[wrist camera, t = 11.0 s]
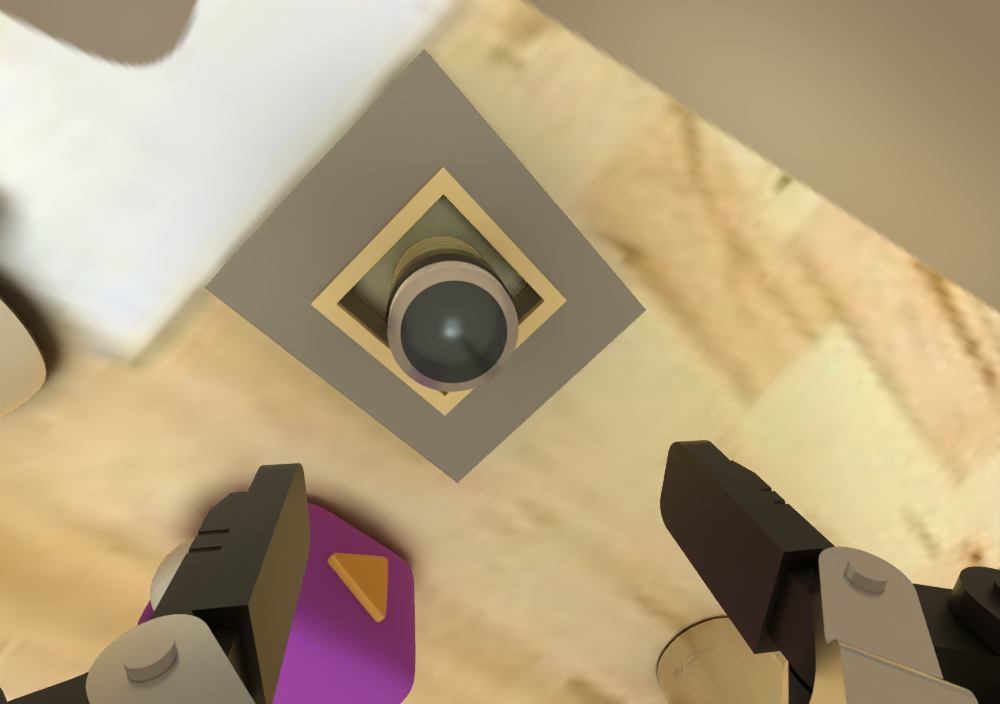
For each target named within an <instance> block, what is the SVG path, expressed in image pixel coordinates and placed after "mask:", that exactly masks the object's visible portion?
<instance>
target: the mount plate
mask: <svg viewBox="0 0 1000 704" xmlns="http://www.w3.org/2000/svg"><path fill="white" fill-rule="evenodd" d="M443 194H444V195H445V196H446V197H447V198H448V199H449V200H450V202H451V203H452V204H453V205H454V206H455V207H456V208H457V209H458V210H459V211H460V212H461V213H462V214H463V215H464V216H465V217H466V218H467V219H468V220H469V222H470V223H471V224H472V225H473V226H474V227H475V228H476V229H477V230H478V231H479V232H480V233H481V234H482V235H483V236H484V237H485V238H486V239H487V240H488V242H489V243H490V244H491V245H492V246H493V247H494V248H495V249H496V250H497V251H498V252H499V253H500V254H501V255H502V256H503V257H504V258H505V259H506V261H507V262H508V263H509V264H510V265H511V266H512V267H513V268H514V269H515V270H516V271H517V272H518V273H519V274H520V275H521V276H522V277H523V278H524V279H525V281H526V282H527V283H528V284H529V285H528V286H527V287H526V288H525V289H524V290H523V291H522V292H521V293H520V294H519V295H517V296H516V297H515V298H514V299H513V300H512V302H513V305H514V307H515V310H516V313H517V317H518V329H519V332H518V340H517V343H516V347H515V350H514V352H513V355H512V356H511V358H510V360H509V362H508V363H507V364H506V366H505V367H504V368H503V369H502V370H501V371H500V372H499V373H498V374H497V375H496V376H495V377H494V378H492V379H491V380H489V381H488V382H486V383H484V384H482V385H480V386H478V387H475V388H473V389H469V390H465V391H457V392H445V391H438V390H434V389H430V388H428V387H425V386H423V385H421V384H419V383H417V382H415V381H414V380H413V379H411V378H410V377H409V376H408V375H407V374H406V373H405V372H403V371H402V369H401V368H400V367H399V365H398V364H397V362H396V361H395V359H394V357H393V355H392V352H391V350H390V346H389V343H388V335H387V327H386V322H385V321H384V320H383V319H382V318H381V317H380V316H378V315H377V314H376V313H375V312H374V311H373V310H372V309H370V308H369V307H368V306H367V305H366V304H365V303H364V302H362V301H361V300H360V299H359V298H358V297H357V296H356V295H354V294H353V293H352V292H351V291H350V289H351V288H352V287H353V286H354V285H355V284H356V283H357V282H358V281H359V280H360V279H361V278H362V277H363V276H364V275H365V274H366V273H367V272H368V271H369V270H370V269H371V268H372V267H373V266H374V265H375V264H376V263H377V262H378V261H379V260H380V259H381V258H382V257H383V256H384V254H385V253H386V252H387V251H388V250H389V249H390V248H391V247H392V246H393V245H394V244H395V243H396V242H397V241H398V240H399V239H400V238H401V237H402V236H403V235H404V234H405V233H406V232H407V231H408V230H409V229H410V228H411V227H412V226H413V225H414V224H415V223H416V222H417V221H418V220H419V219H420V218H421V217H422V216H423V214H424V213H425V212H426V211H427V210H428V209H429V208H430V207H431V206H432V205H433V204H434V203H435V202H436V201H437V200H438V199H439V198H440V197H441V196H442V195H443ZM205 288H206V289H207V290H208V291H210V292H211V293H212V294H214V295H215V296H216V297H218V298H219V299H220V300H221V301H223V302H224V303H225V304H227V305H228V306H229V307H230V308H232V309H233V310H234V311H236V312H237V313H238V314H240V315H241V316H242V317H243V318H245V319H246V320H247V321H249V322H250V323H251V324H252V325H254V326H255V327H256V328H258V329H259V330H260V331H262V332H263V333H264V334H265V335H267V336H268V337H269V338H271V339H272V340H273V341H275V342H276V343H277V344H278V345H280V346H281V347H282V348H284V349H285V350H286V351H287V352H289V353H290V354H291V355H293V356H294V357H295V358H297V359H298V360H299V361H300V362H302V363H303V364H304V365H306V366H307V367H308V368H309V369H311V370H312V371H313V372H315V373H316V374H317V375H319V376H320V377H321V378H322V379H324V380H325V381H326V382H328V383H329V384H330V385H331V386H333V387H334V388H335V389H337V390H338V391H339V392H341V393H342V394H343V395H344V396H346V397H347V398H348V399H350V400H351V401H352V402H354V403H355V404H356V405H357V406H359V407H360V408H361V409H363V410H364V411H365V412H366V413H368V414H369V415H370V416H372V417H373V418H374V419H376V420H377V421H378V422H379V423H381V424H382V425H383V426H385V427H386V428H387V429H388V430H390V431H391V432H392V433H394V434H395V435H396V436H398V437H399V438H400V439H401V440H403V441H404V442H405V443H407V444H408V445H409V446H410V447H412V448H413V449H414V450H416V451H417V452H418V453H420V454H421V455H422V456H423V457H425V458H426V459H427V460H429V461H430V462H431V463H432V464H434V465H435V466H436V467H438V468H439V469H440V470H442V471H443V472H444V473H445V474H447V475H448V476H449V477H451V478H452V479H453V480H455V481H456V482H457V483H458V482H459V481H460V480H461V479H462V478H463V477H464V476H465V475H466V474H468V473H469V472H470V471H471V470H472V469H473V468H474V467H475V466H476V465H477V464H478V463H480V462H481V461H482V460H483V459H484V458H485V457H486V456H487V455H488V454H489V453H490V452H492V451H493V450H494V449H495V448H496V447H497V446H498V445H499V444H500V443H501V442H502V441H504V440H505V439H506V438H507V437H508V436H509V435H510V434H511V433H512V432H513V431H514V430H516V429H517V428H518V427H519V426H520V425H521V424H522V423H523V422H524V421H525V420H526V419H528V418H529V417H530V416H531V415H532V414H533V413H534V412H535V411H536V410H537V409H538V408H540V407H541V406H542V405H543V404H544V403H545V402H546V401H547V400H548V399H549V398H550V397H552V396H553V395H554V394H555V393H556V392H557V391H558V390H559V389H560V388H561V387H562V386H564V385H565V384H566V383H567V382H568V381H569V380H570V379H571V378H572V377H573V376H575V375H576V374H577V373H578V372H579V371H580V370H581V369H582V368H583V367H584V366H585V365H587V364H588V363H589V362H590V361H591V360H592V359H593V358H594V357H595V356H596V355H597V354H599V353H600V352H601V351H602V350H603V349H604V348H605V347H606V346H607V345H608V344H609V343H611V342H612V341H613V340H614V339H615V338H616V337H617V336H618V335H619V334H620V333H621V332H623V331H624V330H625V329H626V328H627V327H628V326H629V325H630V324H631V323H632V322H633V321H635V320H636V319H637V318H638V317H639V316H640V315H641V314H642V313H643V312H644V311H645V310H646V309H645V308H644V307H643V306H642V305H641V303H640V302H639V301H638V300H637V299H636V298H635V296H634V295H633V294H632V293H631V292H630V290H629V289H628V288H627V287H626V286H625V285H624V283H623V282H622V281H621V280H620V279H619V277H618V276H617V275H616V274H615V273H614V272H613V270H612V269H611V268H610V267H609V266H608V265H607V263H606V262H605V261H604V260H603V259H602V257H601V256H600V255H599V254H598V253H597V252H596V250H595V249H594V248H593V247H592V246H591V245H590V243H589V242H588V241H587V240H586V239H585V237H584V236H583V235H582V234H581V233H580V232H579V230H578V229H577V228H576V227H575V226H574V225H573V223H572V222H571V221H570V220H569V219H568V217H567V216H566V215H565V214H564V213H563V212H562V210H561V209H560V208H559V207H558V206H557V204H556V203H555V202H554V201H553V200H552V199H551V197H550V196H549V195H548V194H547V193H546V192H545V190H544V189H543V188H542V187H541V186H540V184H539V183H538V182H537V181H536V180H535V179H534V177H533V176H532V175H531V174H530V173H529V172H528V170H527V169H526V168H525V167H524V166H523V164H522V163H521V162H520V161H519V160H518V159H517V157H516V156H515V155H514V154H513V153H512V152H511V150H510V149H509V148H508V147H507V146H506V144H505V143H504V142H503V141H502V140H501V139H500V137H499V136H498V135H497V134H496V133H495V131H494V130H493V129H492V128H491V127H490V126H489V124H488V123H487V122H486V121H485V120H484V119H483V117H482V116H481V115H480V114H479V113H478V111H477V110H476V109H475V108H474V107H473V106H472V104H471V103H470V102H469V101H468V100H467V99H466V97H465V96H464V95H463V94H462V93H461V91H460V90H459V89H458V88H457V87H456V86H455V84H454V83H453V82H452V81H451V80H450V78H449V77H448V76H447V75H446V74H445V73H444V71H443V70H442V69H441V68H440V67H439V66H438V64H437V63H436V62H435V61H434V60H433V58H432V57H431V56H430V55H429V54H428V53H427V51H426V50H425V49H424V50H423V51H422V52H421V53H420V54H419V55H418V56H417V57H416V58H415V59H414V61H413V62H412V63H411V64H410V65H409V66H408V67H407V68H406V69H405V70H404V71H403V72H402V74H401V75H400V76H399V77H398V78H397V79H396V80H395V81H394V82H393V83H392V84H391V86H390V87H389V88H388V89H387V90H386V91H385V92H384V93H383V94H382V95H381V96H380V97H379V99H378V100H377V101H376V102H375V103H374V104H373V105H372V106H371V107H370V108H369V109H368V110H367V112H366V113H365V114H364V115H363V116H362V117H361V118H360V119H359V120H358V121H357V122H356V124H355V125H354V126H353V127H352V128H351V129H350V130H349V131H348V132H347V133H346V134H345V135H344V137H343V138H342V139H341V140H340V141H339V142H338V143H337V144H336V145H335V146H334V147H333V148H332V150H331V151H330V152H329V153H328V154H327V155H326V156H325V157H324V158H323V159H322V160H321V162H320V163H319V164H318V165H317V166H316V167H315V168H314V169H313V170H312V171H311V172H310V173H309V175H308V176H307V177H306V178H305V179H304V180H303V181H302V182H301V183H300V184H299V185H298V186H297V188H296V189H295V190H294V191H293V192H292V193H291V194H290V195H289V196H288V197H287V198H286V200H285V201H284V202H283V203H282V204H281V205H280V206H279V207H278V208H277V209H276V210H275V211H274V213H273V214H272V215H271V216H270V217H269V218H268V219H267V220H266V221H265V222H264V223H263V225H262V226H261V227H260V228H259V229H258V230H257V231H256V232H255V233H254V234H253V235H252V236H251V238H250V239H249V240H248V241H247V242H246V243H245V244H244V245H243V246H242V247H241V248H240V249H239V251H238V252H237V253H236V254H235V255H234V256H233V257H232V258H231V259H230V260H229V261H228V263H227V264H226V265H225V266H224V267H223V268H222V269H221V270H220V271H219V272H218V273H217V274H216V276H215V277H214V278H213V279H212V280H211V281H210V282H209V283H208V284H207V285H206V286H205Z"/></svg>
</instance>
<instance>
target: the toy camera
mask: <svg viewBox="0 0 1000 704" xmlns="http://www.w3.org/2000/svg"><path fill="white" fill-rule="evenodd" d="M307 505H308V513H309V522H310V550H309V557H308V561H307V565H306V569H305V573H304V577H303V582H302V586H301V590H300V594H299V598H298V602H297V606H296V610H295V614H294V618H293V622H292V626H291V631H290V635H289V639H288V643H287V647H286V651H285V655H284V659H283V663H282V667H281V671H280V675H279V679H278V684H277V688H276V692H275V696H274V700H273V704H400V703H401V702H402V701H403V700H404V699H405V698H406V697H407V695H408V694H409V692H410V690H411V688H412V685H413V682H414V676H415V605H414V580H413V574H412V570H411V568H410V566H409V565H408V564H407V563H406V562H405V561H404V560H403V559H402V558H401V557H400V556H398V555H397V554H395V553H394V552H392V551H391V550H389V549H388V548H386V547H385V546H383V545H382V544H380V543H378V542H377V541H375V540H374V539H372V538H371V537H369V536H368V535H366V534H364V533H363V532H361V531H360V530H358V529H357V528H355V527H353V526H352V525H350V524H349V523H347V522H345V521H344V520H342V519H341V518H339V517H337V516H336V515H334V514H333V513H331V512H329V511H327V510H326V509H324V508H322V507H320V506H318V505H315V504H312V503H307ZM194 539H195V537H194V538H191V539H189V540H187V541H186V542H184V543H182V544H180V545H179V546H178V547H176V548H175V549H174V550H173V551H172V552H171V553H169V554H168V555H167V557H166V558H165V559H164V560H163V562H162V563H161V564H160V566H159V567H158V569H157V571H156V573H155V576H154V578H153V580H152V585H151V590H150V601H149V603H148V605H147V606H146V608H145V610H144V612H143V614H142V616H141V618H140V620H139V622H138V625H140V624H142V623H144V622H147V621H149V620H150V618H151V616H152V614H153V613H154V611H155V609H156V607H157V605H158V604H159V602H160V600H161V598H162V596H163V595H164V593H165V591H166V589H167V587H168V586H169V584H170V582H171V580H172V578H173V576H174V575H175V573H176V571H177V569H178V567H179V566H180V564H181V562H182V560H183V558H184V557H185V555H186V553H189V548H190V546H191V544H192V542H193V540H194ZM138 625H137V626H138Z"/></svg>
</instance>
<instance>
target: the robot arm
mask: <svg viewBox="0 0 1000 704" xmlns="http://www.w3.org/2000/svg"><path fill="white" fill-rule="evenodd" d="M660 509H661V515H662V518H663V521H664V524H665V526H666V528H667V529H668V531H669V532H670V533H671V535H672V536H673V538H674V539H675V541H676V542H677V544H678V545H679V546H680V548H681V549H682V551H683V552H684V554H685V555H686V557H687V558H688V559H689V561H690V562H691V564H692V565H693V567H694V568H695V570H696V571H697V572H698V574H699V575H700V577H701V578H702V580H703V581H704V583H705V584H706V585H707V587H708V588H709V590H710V591H711V593H712V594H713V595H714V597H715V598H716V600H717V601H718V603H719V604H720V606H721V607H722V608H723V610H724V611H725V613H726V614H727V616H728V617H729V618H719V619H713V620H709V621H706V622H703V623H700V624H698V625H696V626H694V627H692V628H690V629H688V630H687V631H685V632H684V633H682V634H681V635H680V636H678V637H677V638H676V639H675V640H674V641H673V642H672V643H671V644H670V645H669V646H668V648H667V649H666V650H665V652H664V653H663V655H662V657H661V659H660V661H659V665H658V669H657V678H658V681H659V684H660V686H661V688H662V690H663V692H664V695H665V697H666V699H667V701H668V703H669V704H1000V570H997V569H992V568H987V567H968V568H965V569H963V570H962V571H961V573H960V575H959V577H958V579H957V582H956V584H955V586H954V588H953V590H952V589H945V588H939V587H932V586H926V585H919V584H912V583H911V581H910V580H909V579H908V578H907V577H906V576H905V575H904V574H903V573H902V572H901V571H899V570H898V569H897V568H895V567H894V566H893V565H891V564H889V563H888V562H886V561H885V560H883V559H881V558H879V557H877V556H874V555H872V554H870V553H867V552H864V551H861V550H858V549H854V548H848V547H835V546H834V545H833V544H832V543H831V542H829V541H828V540H827V539H826V538H825V537H824V536H823V535H822V534H821V533H820V532H819V531H817V530H816V529H815V528H814V527H813V526H812V525H811V524H810V523H809V522H808V521H807V520H805V519H804V518H803V517H802V516H801V515H800V514H799V513H798V512H797V511H796V510H795V509H793V508H792V507H791V506H790V505H789V504H785V500H784V499H783V498H781V497H780V496H779V495H778V494H777V493H776V492H775V491H772V490H771V487H770V486H768V485H767V484H766V483H765V482H764V481H763V480H762V479H761V478H760V477H759V476H758V475H756V474H755V473H754V472H752V471H750V470H749V469H747V468H745V467H743V466H741V465H739V464H738V463H736V462H734V461H730V460H729V459H728V458H727V457H726V456H725V455H724V454H723V453H722V452H721V451H720V450H718V449H717V448H716V447H715V446H714V445H713V444H712V443H711V442H710V441H707V440H700V441H683V442H674V443H673V444H672V445H671V446H670V449H669V452H668V458H667V464H666V469H665V475H664V481H663V487H662V492H661V498H660ZM309 550H310V522H309V513H308V505H307V496H306V487H305V479H304V471H303V467H302V465H301V464H300V463H296V464H279V465H263V466H260V468H259V469H258V471H257V473H256V475H255V478H254V480H253V482H252V484H251V486H250V488H249V490H248V492H240V493H230V494H229V495H228V496H227V497H226V498H225V499H223V500H222V501H221V502H220V503H219V504H217V505H216V506H215V507H214V508H213V509H212V510H210V511H209V513H208V515H207V517H206V519H205V520H204V522H203V524H202V526H201V528H200V530H199V531H198V536H196V537H195V539H194V540H193V542H192V544H191V546H190V548H189V553H186V555H185V557H184V558H183V560H182V562H181V564H180V566H179V567H178V569H177V571H176V573H175V575H174V576H173V578H172V580H171V582H170V584H169V586H168V587H167V589H166V591H165V593H164V595H163V596H162V598H161V600H160V602H159V604H158V605H157V607H156V609H155V611H154V613H153V614H152V616H151V618H150V620H149V621H147V622H144V623H142V624H140V625H138V626H136V627H134V628H132V629H131V630H129V631H127V632H126V633H124V634H123V635H121V636H120V637H118V638H117V639H116V640H115V641H114V642H112V643H111V644H110V645H109V646H108V647H107V648H106V649H105V650H104V651H103V652H102V653H101V654H100V655H99V657H98V658H97V659H96V661H95V662H94V664H93V665H92V667H91V669H90V671H89V672H87V673H85V674H83V675H80V676H78V677H75V678H73V679H70V680H67V681H65V682H62V683H59V684H56V685H53V686H51V687H48V688H45V689H42V690H39V691H36V692H34V693H31V694H28V695H25V696H22V697H19V698H17V699H14V700H11V701H8V702H7V700H6V698H5V695H4V693H3V691H2V689H1V688H0V704H273V700H274V696H275V692H276V688H277V684H278V679H279V675H280V671H281V667H282V663H283V659H284V655H285V651H286V647H287V643H288V639H289V635H290V631H291V626H292V622H293V618H294V614H295V610H296V606H297V602H298V598H299V594H300V590H301V586H302V582H303V577H304V573H305V569H306V565H307V561H308V557H309ZM775 651H781V653H782V654H783V655H784V657H785V658H786V661H785V664H784V667H783V665H782V664H781V662H780V661H779V660H778V658H777V657H776V656H775V654H774V653H773V652H775Z"/></svg>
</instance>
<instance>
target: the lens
mask: <svg viewBox="0 0 1000 704" xmlns="http://www.w3.org/2000/svg"><path fill="white" fill-rule="evenodd" d="M386 327H387V335H388V343H389V346H390V350H391V352H392V355H393V357H394V359H395V361H396V362H397V364H398V365H399V367H400V368H401V369H402V371H403V372H405V373H406V374H407V375H408V376H409V377H410V378H411V379H413V380H414V381H415V382H417V383H419V384H421V385H423V386H425V387H428V388H430V389H434V390H438V391H445V392H457V391H465V390H469V389H473V388H475V387H478V386H480V385H482V384H484V383H486V382H488V381H489V380H491V379H492V378H494V377H495V376H496V375H497V374H498V373H499V372H500V371H501V370H502V369H503V368H504V367H505V366H506V364H507V363H508V362H509V360H510V358H511V356H512V355H513V352H514V350H515V347H516V343H517V340H518V332H519V329H518V317H517V313H516V310H515V307H514V305H513V302H512V299H511V297H510V294H509V292H508V290H507V289H506V287H505V286H504V284H503V283H502V281H501V280H500V278H499V277H498V276H497V274H496V273H495V272H494V270H493V269H492V268H491V267H490V266H489V265H488V264H487V263H486V262H485V261H484V260H483V258H482V257H481V255H480V254H479V253H478V252H477V251H476V250H475V249H474V248H473V247H472V246H470V245H469V244H467V243H466V242H464V241H462V240H459V239H456V238H453V237H447V236H435V237H430V238H427V239H424V240H421V241H419V242H417V243H416V244H414V245H413V246H411V247H410V248H409V249H408V250H407V251H406V252H405V253H404V254H403V255H402V257H401V259H400V260H399V262H398V264H397V266H396V269H395V272H394V278H393V284H392V287H391V290H390V294H389V300H388V307H387V314H386Z"/></svg>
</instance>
